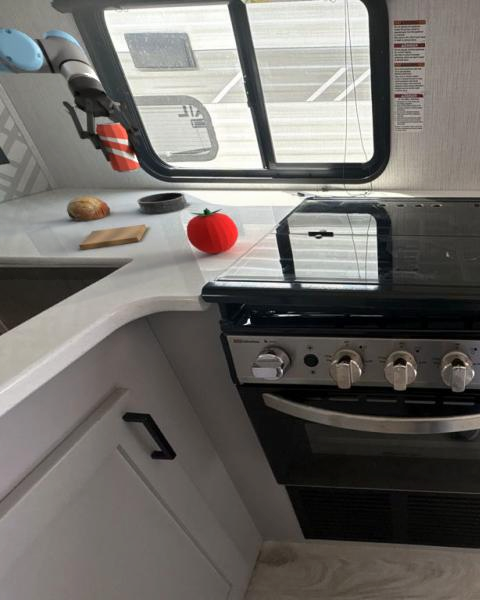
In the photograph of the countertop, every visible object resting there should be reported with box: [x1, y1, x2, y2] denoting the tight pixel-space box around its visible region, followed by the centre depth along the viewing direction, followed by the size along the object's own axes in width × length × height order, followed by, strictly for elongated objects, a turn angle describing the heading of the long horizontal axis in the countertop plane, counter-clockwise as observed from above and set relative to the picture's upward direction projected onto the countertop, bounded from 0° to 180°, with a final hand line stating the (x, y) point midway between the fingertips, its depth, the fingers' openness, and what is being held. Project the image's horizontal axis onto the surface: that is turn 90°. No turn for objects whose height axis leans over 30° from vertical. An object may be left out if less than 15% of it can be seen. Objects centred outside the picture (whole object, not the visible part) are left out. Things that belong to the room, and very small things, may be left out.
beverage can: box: [95, 122, 141, 173], centre depth 91 cm, size 6×6×12 cm
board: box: [78, 224, 147, 250], centre depth 87 cm, size 12×11×1 cm
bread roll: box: [66, 195, 111, 222], centre depth 102 cm, size 10×10×8 cm
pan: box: [136, 191, 188, 215], centre depth 110 cm, size 13×13×4 cm
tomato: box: [186, 207, 239, 255], centre depth 76 cm, size 10×10×10 cm
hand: (123, 156), depth 89 cm, fingers closed on beverage can, 6 cm apart
